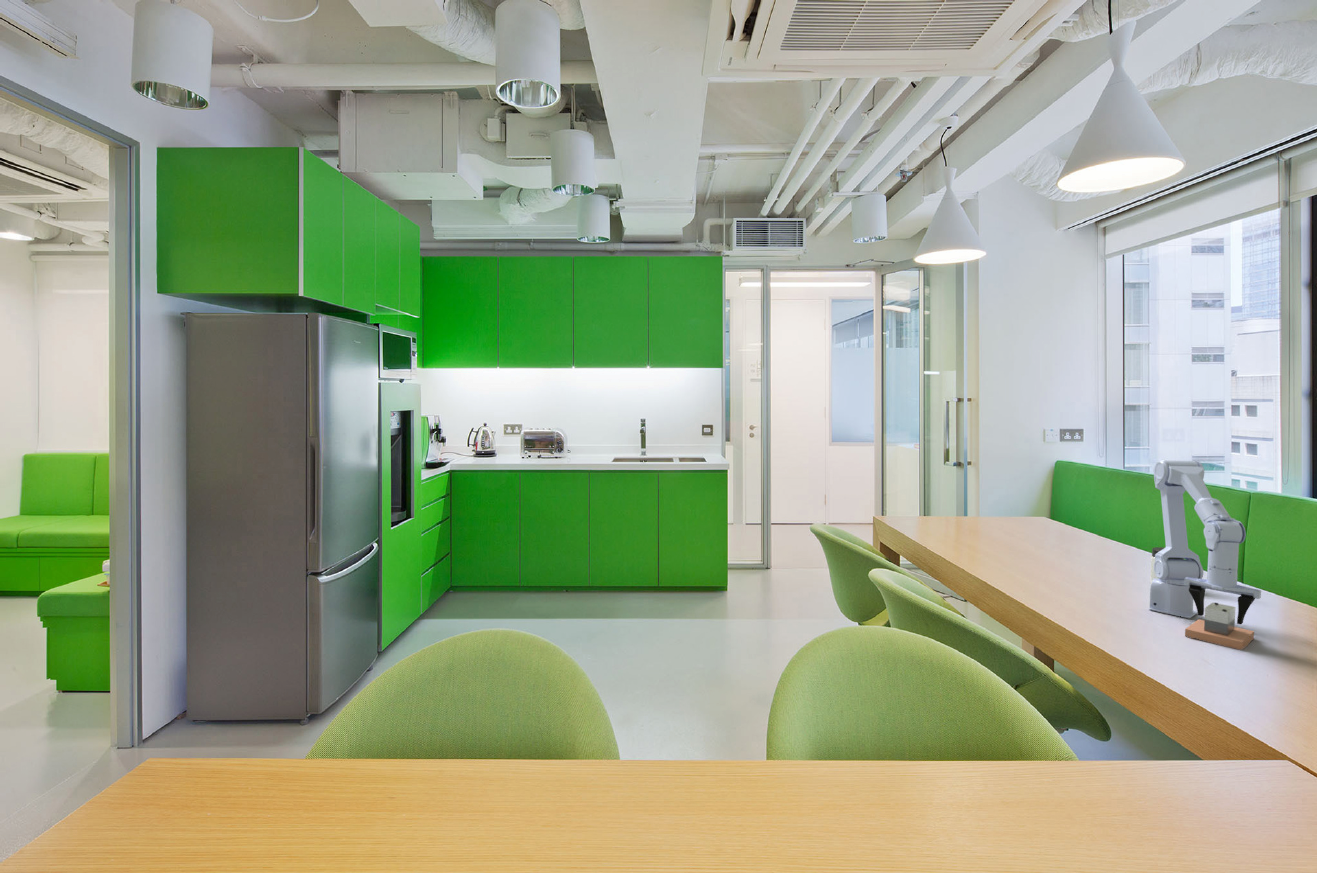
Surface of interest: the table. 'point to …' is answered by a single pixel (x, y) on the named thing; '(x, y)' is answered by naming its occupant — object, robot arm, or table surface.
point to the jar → (1154, 551)
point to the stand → (1233, 640)
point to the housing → (1219, 619)
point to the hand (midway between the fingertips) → (1220, 619)
